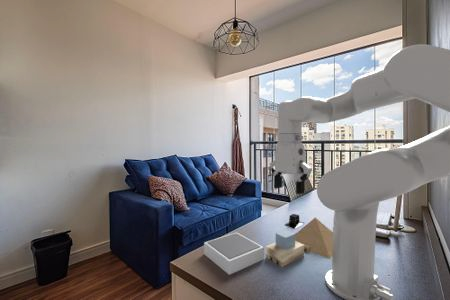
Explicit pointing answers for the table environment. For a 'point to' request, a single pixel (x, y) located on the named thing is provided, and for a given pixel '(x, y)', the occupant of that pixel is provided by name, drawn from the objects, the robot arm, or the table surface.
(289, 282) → the table surface
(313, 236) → the model pyramid
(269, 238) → the table surface
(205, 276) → the table surface
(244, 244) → the white square tray
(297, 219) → the black block on base
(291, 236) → the light blue block
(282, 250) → the pallet
